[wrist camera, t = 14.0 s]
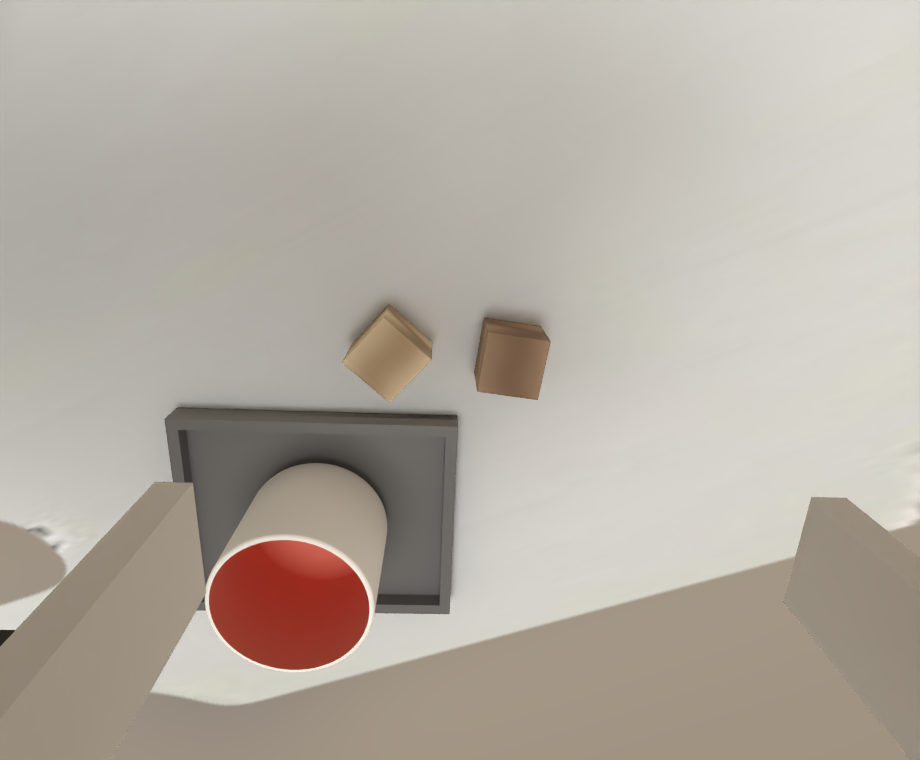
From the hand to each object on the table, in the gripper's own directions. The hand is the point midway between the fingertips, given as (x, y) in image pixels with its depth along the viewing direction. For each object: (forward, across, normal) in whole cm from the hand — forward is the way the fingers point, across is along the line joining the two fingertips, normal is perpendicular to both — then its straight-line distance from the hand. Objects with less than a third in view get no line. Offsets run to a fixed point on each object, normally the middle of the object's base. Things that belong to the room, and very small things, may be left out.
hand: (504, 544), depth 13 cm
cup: (+28, -10, -17) cm, 34 cm away
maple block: (+29, -5, -4) cm, 29 cm away
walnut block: (+29, +3, -4) cm, 29 cm away
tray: (+29, -10, -17) cm, 35 cm away
